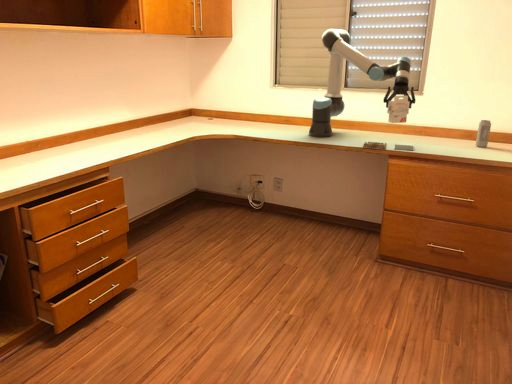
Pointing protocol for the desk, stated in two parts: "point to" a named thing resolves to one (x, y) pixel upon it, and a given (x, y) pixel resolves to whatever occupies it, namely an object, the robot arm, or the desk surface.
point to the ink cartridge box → (398, 109)
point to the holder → (374, 145)
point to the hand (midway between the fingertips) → (397, 112)
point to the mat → (403, 147)
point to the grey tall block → (483, 133)
